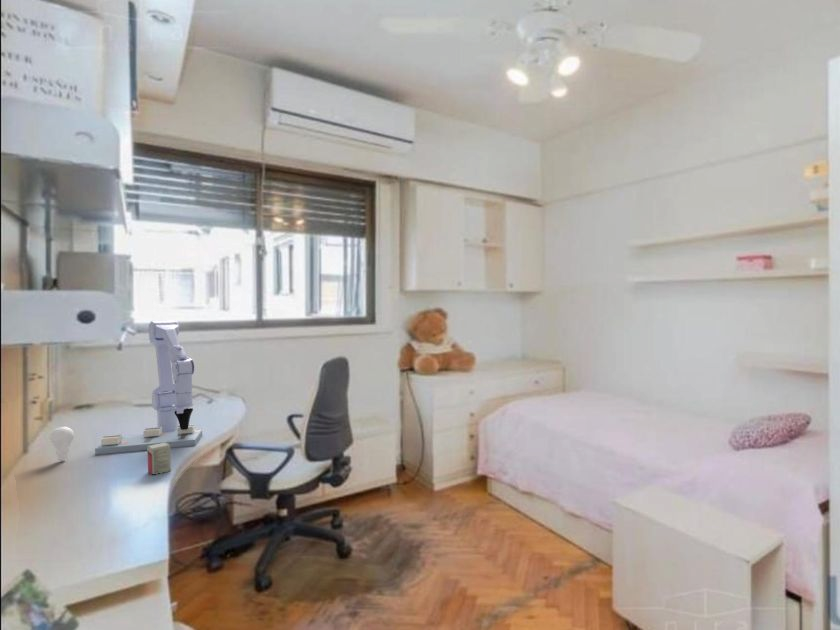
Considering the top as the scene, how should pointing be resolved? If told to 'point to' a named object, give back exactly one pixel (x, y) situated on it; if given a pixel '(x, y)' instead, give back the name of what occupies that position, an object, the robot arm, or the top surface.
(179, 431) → the knob
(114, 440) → the knob
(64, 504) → the top surface
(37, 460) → the top surface
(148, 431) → the knob
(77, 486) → the top surface
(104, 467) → the top surface
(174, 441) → the switch unit
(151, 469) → the small box
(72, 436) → the lightbulb
